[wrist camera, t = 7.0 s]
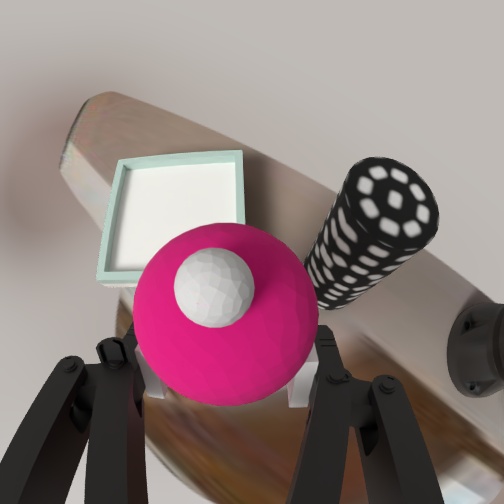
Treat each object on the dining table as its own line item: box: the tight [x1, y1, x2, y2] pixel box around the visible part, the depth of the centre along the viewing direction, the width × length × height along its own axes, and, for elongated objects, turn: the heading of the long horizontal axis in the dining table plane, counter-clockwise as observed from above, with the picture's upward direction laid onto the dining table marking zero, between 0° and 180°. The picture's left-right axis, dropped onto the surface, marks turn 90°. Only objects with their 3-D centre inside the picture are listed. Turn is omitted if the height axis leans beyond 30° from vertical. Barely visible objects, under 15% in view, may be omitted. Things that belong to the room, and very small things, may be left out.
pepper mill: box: [133, 223, 319, 406], centre depth 15 cm, size 7×7×20 cm
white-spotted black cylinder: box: [303, 157, 439, 310], centre depth 29 cm, size 8×8×20 cm
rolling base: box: [96, 150, 245, 287], centre depth 38 cm, size 18×18×6 cm
